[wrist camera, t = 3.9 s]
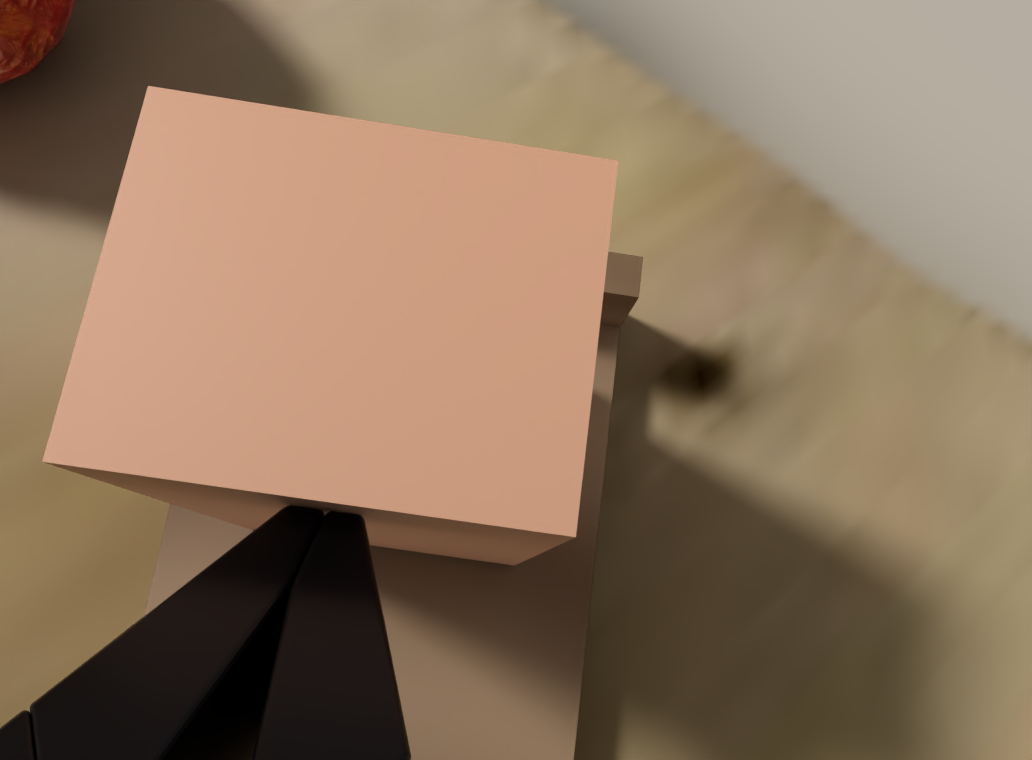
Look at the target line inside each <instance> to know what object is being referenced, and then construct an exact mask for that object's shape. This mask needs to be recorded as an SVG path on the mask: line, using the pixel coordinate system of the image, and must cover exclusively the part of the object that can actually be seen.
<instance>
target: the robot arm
mask: <svg viewBox="0 0 1032 760" xmlns="http://www.w3.org/2000/svg"><path fill="white" fill-rule="evenodd" d="M0 760H411V752H410V747H409V742H408V737H407V732H406V727H405V722H404V717H403V712H402V707H401V701H400V696H399V691H398V686H397V681H396V676H395V671H394V666H393V661H392V656H391V651H390V646H389V641H388V635H387V630H386V625H385V620H384V615H383V610H382V605H381V600H380V595H379V590H378V585H377V580H376V575H375V569H374V564H373V559H372V554H371V549H370V544H369V539H368V534H367V529H366V524H365V520H364V518H363V517H362V516H361V515H357V514H349V513H342V512H335V511H330V512H328V513H326V514H324V512H323V511H322V510H320V509H314V508H307V507H300V506H293V505H289V506H286V507H284V508H282V509H281V510H280V511H278V512H277V513H276V514H275V515H273V516H272V517H271V518H270V519H268V520H267V521H266V522H264V523H263V524H262V525H261V526H259V527H258V528H257V529H255V530H254V531H253V532H252V533H250V534H249V535H248V536H246V537H245V538H244V539H243V540H241V541H240V542H239V543H237V544H236V545H235V546H234V547H232V548H231V549H230V550H228V551H227V552H226V553H225V554H223V555H222V556H221V557H219V558H218V559H217V560H216V561H214V562H213V563H212V564H211V565H209V566H208V567H207V568H205V569H204V570H203V571H202V572H200V573H199V574H198V575H196V576H195V577H194V578H193V579H191V580H190V581H189V582H187V583H186V584H185V585H184V586H182V587H181V588H180V589H178V590H177V591H176V592H175V593H173V594H172V595H171V596H169V597H168V598H167V599H166V600H164V601H163V602H162V603H160V604H159V605H158V606H157V607H155V608H154V609H153V610H152V611H150V612H149V613H148V614H146V615H145V616H144V617H143V618H141V619H140V620H139V621H137V622H136V623H135V624H134V625H132V626H131V627H130V628H128V629H127V630H126V631H125V632H123V633H122V634H121V635H119V636H118V637H117V638H116V639H114V640H113V641H112V642H110V643H109V644H108V645H107V646H105V647H104V648H103V649H101V650H100V651H99V652H98V653H96V654H95V655H94V656H92V657H91V658H90V659H89V660H87V661H86V662H85V663H84V664H82V665H81V666H80V667H78V668H77V669H76V670H75V671H73V672H72V673H71V674H69V675H68V676H67V677H66V678H64V679H63V680H62V681H60V682H59V683H58V684H57V685H55V686H54V687H53V688H51V689H50V690H49V691H48V692H46V693H45V694H44V695H42V696H41V697H40V698H39V699H37V700H36V701H35V702H33V703H32V704H31V706H30V712H29V711H26V710H24V711H22V712H20V713H19V714H18V715H16V716H15V717H14V718H12V719H11V720H10V721H9V722H7V723H6V724H5V725H3V726H2V727H1V728H0Z"/></svg>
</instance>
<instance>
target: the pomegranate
mask: <svg viewBox="0 0 1032 760" xmlns="http://www.w3.org/2000/svg"><path fill="white" fill-rule="evenodd" d="M74 4H75V0H0V84H2V83H5V82H7V81H9V80H11V79H13V78H16V77H19V76H22V75H24V74H27V73H28V72H30V71H31V70H33V69H34V68H36V67H37V66H38V65H39V64H40V62H41V61H42V60H43V59H44V58H45V57H46V56H47V54H48V53H49V52H50V51H51V49H53V48H54V47H56V45H57V44H58V43H59V42H60V40H61V39H62V38H63V36H64V34H65V31H66V29H67V26H68V23H69V20H70V17H71V14H72V10H73V7H74Z"/></svg>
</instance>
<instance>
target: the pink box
mask: <svg viewBox="0 0 1032 760" xmlns="http://www.w3.org/2000/svg"><path fill="white" fill-rule="evenodd" d="M617 170H618V161H617V160H611V159H604V158H598V157H592V156H585V155H579V154H573V153H567V152H560V151H554V150H548V149H542V148H535V147H529V146H523V145H516V144H510V143H504V142H498V141H491V140H485V139H479V138H473V137H466V136H460V135H454V134H447V133H441V132H435V131H429V130H422V129H416V128H410V127H404V126H397V125H391V124H385V123H378V122H372V121H366V120H360V119H353V118H347V117H341V116H335V115H328V114H322V113H316V112H310V111H303V110H297V109H291V108H284V107H278V106H272V105H266V104H259V103H253V102H247V101H241V100H234V99H228V98H222V97H215V96H209V95H203V94H197V93H190V92H184V91H178V90H172V89H165V88H159V87H153V86H148V88H147V91H146V95H145V98H144V102H143V106H142V109H141V113H140V116H139V120H138V123H137V127H136V130H135V134H134V138H133V141H132V145H131V148H130V152H129V155H128V159H127V162H126V166H125V170H124V173H123V177H122V180H121V184H120V187H119V191H118V194H117V198H116V202H115V205H114V209H113V212H112V216H111V219H110V223H109V226H108V230H107V234H106V237H105V241H104V244H103V248H102V251H101V255H100V258H99V262H98V266H97V269H96V273H95V276H94V280H93V283H92V287H91V290H90V294H89V298H88V301H87V305H86V308H85V312H84V315H83V319H82V322H81V326H80V330H79V333H78V337H77V340H76V344H75V347H74V351H73V354H72V358H71V362H70V365H69V369H68V372H67V376H66V379H65V383H64V386H63V390H62V394H61V397H60V401H59V404H58V408H57V411H56V415H55V418H54V422H53V426H52V429H51V433H50V436H49V440H48V443H47V447H46V450H45V454H44V457H43V461H42V462H45V463H48V464H51V465H54V466H57V467H60V468H63V469H66V470H69V471H72V472H75V473H78V474H82V475H85V476H88V477H91V478H94V479H97V480H100V481H103V482H106V483H109V484H112V485H115V486H118V487H122V488H125V489H128V490H131V491H134V492H137V493H140V494H143V495H146V496H149V497H152V498H155V499H158V500H162V501H165V502H168V503H171V504H174V505H177V506H180V507H183V508H186V509H189V510H192V511H195V512H198V513H202V514H205V515H208V516H211V517H214V518H217V519H220V520H223V521H226V522H229V523H232V524H235V525H238V526H242V527H245V528H249V529H257V528H258V527H259V526H261V525H262V524H263V523H264V522H266V521H267V520H268V519H270V518H271V517H272V516H273V515H275V514H276V513H277V512H278V511H280V510H281V509H282V508H284V507H286V506H289V505H293V506H300V507H307V508H314V509H320V510H322V511H323V512H324V514H326V513H328V512H330V511H335V512H342V513H349V514H357V515H361V516H362V517H363V518H364V520H365V524H366V529H367V534H368V539H369V544H370V545H371V546H378V547H385V548H392V549H400V550H407V551H414V552H421V553H428V554H435V555H442V556H450V557H457V558H464V559H471V560H478V561H485V562H493V563H500V564H507V565H514V566H515V565H517V564H519V563H521V562H523V561H525V560H528V559H530V558H532V557H534V556H536V555H538V554H541V553H543V552H545V551H547V550H549V549H551V548H554V547H556V546H558V545H560V544H562V543H565V542H567V541H569V540H571V539H573V538H575V537H576V532H577V523H578V514H579V506H580V497H581V488H582V479H583V470H584V461H585V453H586V444H587V435H588V426H589V417H590V408H591V400H592V391H593V382H594V373H595V364H596V355H597V347H598V338H599V329H600V320H601V311H602V303H603V294H604V285H605V276H606V267H607V258H608V250H609V241H610V232H611V223H612V214H613V205H614V197H615V188H616V179H617Z"/></svg>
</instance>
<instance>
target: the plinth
mask: <svg viewBox="0 0 1032 760" xmlns="http://www.w3.org/2000/svg"><path fill="white" fill-rule="evenodd" d="M642 261H643V257H639V256H633V255H626V254H620V253H613V252H608V258H607V267H606V276H605V285H604V294H603V303H602V311H601V320H600V329H599V338H598V347H597V355H596V364H595V373H594V382H593V391H592V400H591V408H590V417H589V426H588V435H587V444H586V453H585V461H584V470H583V479H582V488H581V497H580V506H579V514H578V523H577V532H576V537H575V538H573V539H571V540H569V541H567V542H565V543H562V544H560V545H558V546H556V547H554V548H551V549H549V550H547V551H545V552H543V553H541V554H538V555H536V556H534V557H532V558H530V559H528V560H525V561H523V562H521V563H519V564H517V565H515V566H514V565H507V564H500V563H493V562H485V561H478V560H471V559H464V558H457V557H450V556H442V555H435V554H428V553H421V552H414V551H407V550H400V549H392V548H385V547H378V546H371V545H370V549H371V554H372V559H373V564H374V569H375V575H376V580H377V585H378V590H379V595H380V600H381V605H382V610H383V615H384V620H385V625H386V630H387V635H388V641H389V646H390V651H391V656H392V661H393V666H394V671H395V676H396V681H397V686H398V691H399V696H400V701H401V707H402V712H403V717H404V722H405V727H406V732H407V737H408V742H409V747H410V752H411V760H574V752H575V742H576V733H577V723H578V714H579V705H580V695H581V686H582V677H583V667H584V658H585V649H586V639H587V630H588V620H589V611H590V602H591V592H592V583H593V574H594V564H595V555H596V545H597V536H598V527H599V517H600V508H601V499H602V489H603V480H604V471H605V461H606V452H607V442H608V433H609V424H610V414H611V405H612V396H613V386H614V377H615V367H616V358H617V349H618V339H619V330H620V326H621V325H622V323H623V322H624V320H625V318H626V317H627V315H628V314H629V312H630V310H631V309H632V307H633V306H634V304H635V303H636V301H637V299H638V298H639V291H640V281H641V271H642ZM254 530H255V529H249V528H245V527H242V526H238V525H235V524H232V523H229V522H226V521H223V520H220V519H217V518H214V517H211V516H208V515H205V514H202V513H198V512H195V511H192V510H189V509H186V508H183V507H180V506H177V505H174V504H170V508H169V512H168V516H167V521H166V525H165V529H164V533H163V537H162V541H161V546H160V550H159V554H158V558H157V562H156V567H155V571H154V575H153V579H152V583H151V588H150V592H149V596H148V600H147V604H146V609H145V613H144V616H145V615H146V614H148V613H149V612H150V611H152V610H153V609H154V608H155V607H157V606H158V605H159V604H160V603H162V602H163V601H164V600H166V599H167V598H168V597H169V596H171V595H172V594H173V593H175V592H176V591H177V590H178V589H180V588H181V587H182V586H184V585H185V584H186V583H187V582H189V581H190V580H191V579H193V578H194V577H195V576H196V575H198V574H199V573H200V572H202V571H203V570H204V569H205V568H207V567H208V566H209V565H211V564H212V563H213V562H214V561H216V560H217V559H218V558H219V557H221V556H222V555H223V554H225V553H226V552H227V551H228V550H230V549H231V548H232V547H234V546H235V545H236V544H237V543H239V542H240V541H241V540H243V539H244V538H245V537H246V536H248V535H249V534H250V533H252V532H253V531H254Z"/></svg>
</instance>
